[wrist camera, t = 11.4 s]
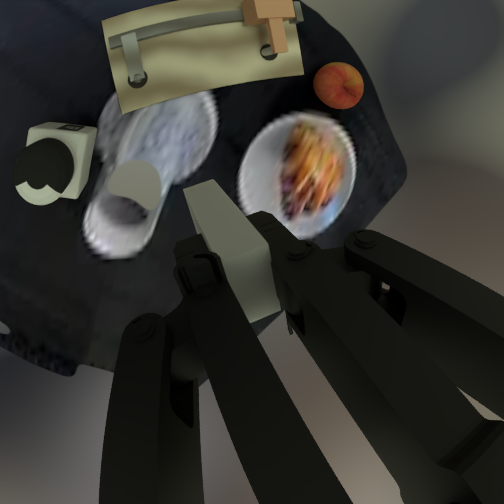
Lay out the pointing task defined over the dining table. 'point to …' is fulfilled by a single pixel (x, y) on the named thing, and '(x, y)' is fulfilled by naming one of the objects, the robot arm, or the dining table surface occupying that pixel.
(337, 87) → the apple
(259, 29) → the board
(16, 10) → the dining table surface
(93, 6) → the dining table surface
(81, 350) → the dining table surface
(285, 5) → the block
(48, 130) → the container
